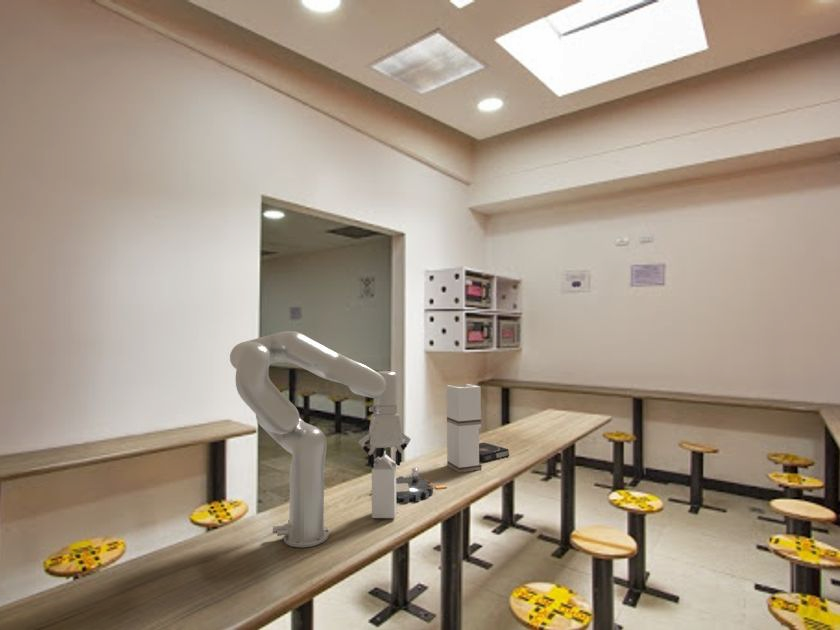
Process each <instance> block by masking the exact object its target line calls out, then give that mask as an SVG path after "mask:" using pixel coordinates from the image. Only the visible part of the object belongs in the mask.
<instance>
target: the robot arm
mask: <svg viewBox="0 0 840 630" xmlns="http://www.w3.org/2000/svg"><path fill="white" fill-rule="evenodd" d="M229 361H230V364H231V365H232V367H233V368H234V369H235V370H236V371H235V387H236V390H237V393H238V396H239V397H240V399H241V400H242V401H243V402H244V403H245V405H247V407H249V409H250V410H252V412H253V413H254V414H255V417H256V418H255V419H256V421H257V423H258V424H259V426H260V427H261V428H262V429H263V430H264V431H265V433H267V434H268V435H269V436H270V437H271V438H272V439H273V440H274V441H275V442H276V443H277V444H278V445H280V446H281V447H282V448H283V449H284V450H285V451H287V452H288V453H290V454H291V455H292V458H291V463H290V467H289V468H290V469H289V519H288V521H287V523H284V524H283V525H274V526H272V534H273V535H274V534H276V535H277V537H279V536H283V542H284V543H285V544H286V545H287V546H289V547H293V548H294V547H295V548H310V547H314V546H318V545H321V544H322V543H324V542H326V541H327V540H328V539H329V538H330V529H329V528H328V527H326V526H325V463H326V462H325V460H326V455H327V448H328V445H327V444H328V443H327V442H328V441H327V437H326V436H325V434H324V432H323V431H322V430H321V429H320V428H319V427H317V426H314V425H312V424H310V423H307V422H305V421H304V420H303V419H302V418H301V417H300V412H299V410H298V409H297V407H296V406H295V405H294V404H293V402H291V400H289V399H288V398H287V397H286V396H285V395H284V394H283V393H282V392H281V391H280V390H279V389H278V388H277V387H276V385H275V384H274V383H273V381H272V380H271V379H270V376H269V369H270V368H269V367H270V365H272V364H275V363H278V362H281V361H288V362H290V363H292V364H294V365H296V366H297V367H300V368H302V369H304V370H307V371H308V372H310V373H312V374H314V375H316V376H318V377H319V378H322V379H324V380H328V381H332V382H336V383H339V384H342V385H345V386H347V387H348V388H349V390H350V391H351V392H352V393H353V394H355V395H358V396H362V397H366V398H370V399H373V405H372V406H369V408H368V411H369V412H371V416H370V421H369V428H368V429H369V430H368V433H367V434H366V435H365V436H364V437H362V438H361V439H360V440H359V441H358V444H359V446H361V448H362V449H363V451H365V452H366V453H367V464H368V465H369V468H371V469H372V468H373V467H374V464H375V462H374V460H375V455H374V451H376V449H383V448H395V449H396V450H395V460H394V462H395V463H396V466H398V467H401V463H402V455H403V454H402V453H403V452H404V450H405V449H406V448H407V447H408V445H409V443H410V442H411V438H410V437H409V436H407V435H406V434H404V433H403V432H402V421H401V415H400V414H399V413H398V374H397V373H396V372H395V371H392V370H391V371H389V370H383V371H382V370H381V371H376V370H373V369H372V368H370V367H368V366H367V365H365V364H362V363H360V362H358V361H356V360H354V359H351V358H349V357H347V356H345V355H343V354H342V353H340V352H339V353H338V352H337V351H334V350H333V349H331V348H329V347H327V346H325V345H323V344H321V343H320V342H318V341H317V340H314V339H312V338H311V337H309V336H307V335H305V334H303V333H301V332H298V331H295V330H293V331H292V330H289V331H288V330H287V331H280V332H276V333H273V334H269V335H266V336H262V337H261V336H260V337H257V338H254V339H250V340H249V339H248V340H247V341H242V342H239V343H237V344H236V345H235V346H234V347H233V348H232V350H231V351H230V355H229ZM366 442H368V444H369V446H367V445H366Z"/></svg>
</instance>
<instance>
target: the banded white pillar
mask: <svg viewBox="0 0 840 630" xmlns="http://www.w3.org/2000/svg"><path fill="white" fill-rule="evenodd" d="M481 387H482V386H479V385H474V384H469V383H466V384H465V387H464V386H453V385H449V384H447V385H446V457H447V459H446V460H447V461H446V463H447V464H446V465H448V467H449V466H450V467H449V468H451V469H452V468H453V469H452V470H454V471H455V472H457V471H458V472H457V473H459V472H461V473H467V471H469V472H475V471H474V470H476V471H482V470H481V469H483V467H482V463H480V462H479V443H480V431H479V429H480V428H482V401H481V399H482V397H481V395H482V394H481V393H482V391H481Z"/></svg>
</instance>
